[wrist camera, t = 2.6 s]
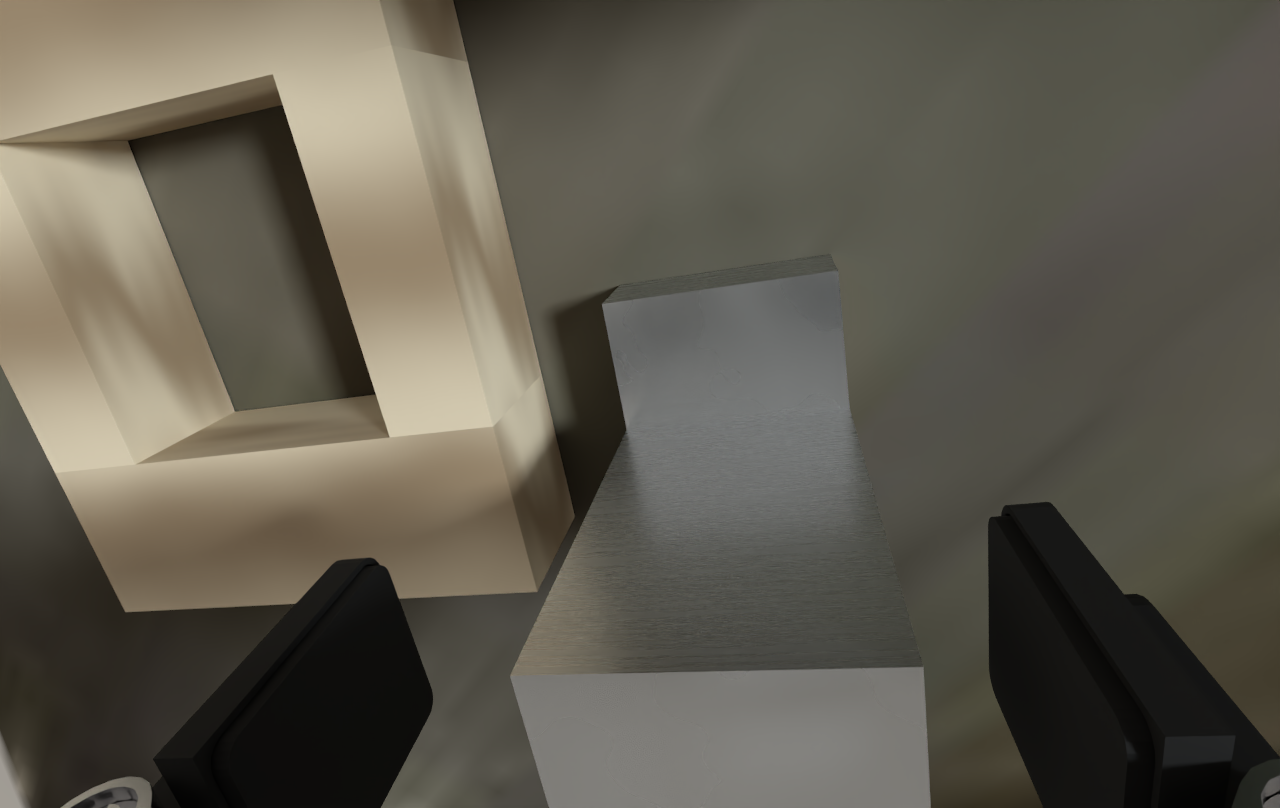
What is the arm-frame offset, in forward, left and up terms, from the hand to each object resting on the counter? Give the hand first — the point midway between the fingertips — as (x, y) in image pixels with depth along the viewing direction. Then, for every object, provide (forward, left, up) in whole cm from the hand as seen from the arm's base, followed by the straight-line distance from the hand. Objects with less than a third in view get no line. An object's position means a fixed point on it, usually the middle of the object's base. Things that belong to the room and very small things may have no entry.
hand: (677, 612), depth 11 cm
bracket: (+1, -1, -8) cm, 8 cm away
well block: (+5, +10, -8) cm, 14 cm away
